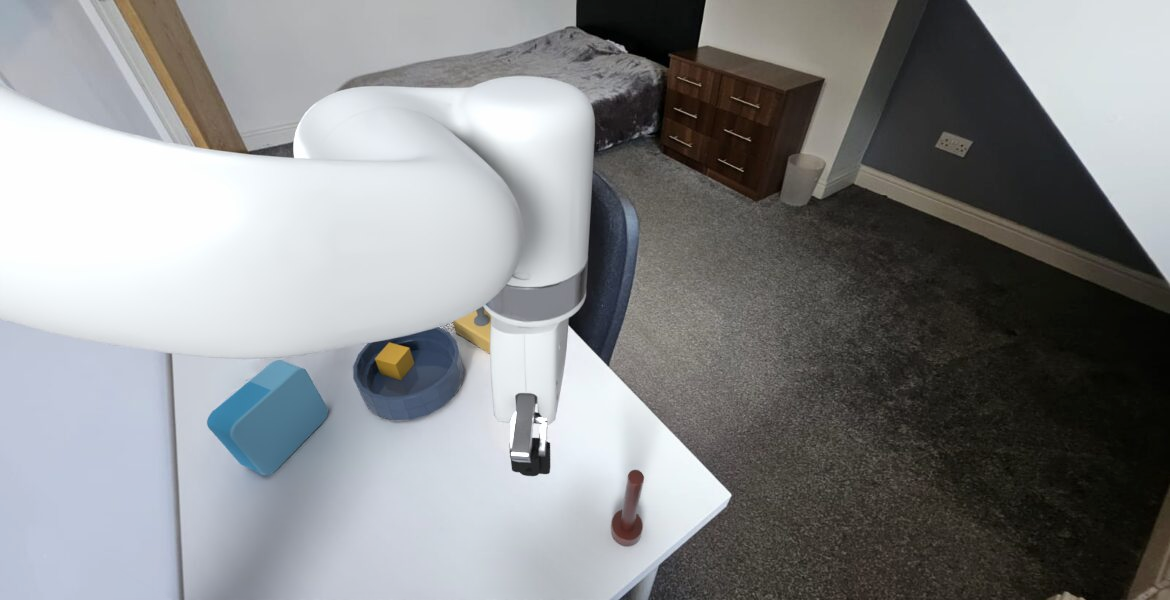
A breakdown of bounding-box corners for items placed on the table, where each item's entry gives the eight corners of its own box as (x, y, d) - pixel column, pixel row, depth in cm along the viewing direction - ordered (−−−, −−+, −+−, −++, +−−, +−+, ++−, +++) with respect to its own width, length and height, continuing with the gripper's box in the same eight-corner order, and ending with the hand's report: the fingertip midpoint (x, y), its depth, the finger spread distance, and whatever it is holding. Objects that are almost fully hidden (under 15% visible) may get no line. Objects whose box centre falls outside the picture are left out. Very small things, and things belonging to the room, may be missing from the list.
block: (401, 380, 79) (395, 364, 76) (380, 374, 80) (374, 358, 77) (414, 363, 82) (409, 347, 79) (394, 357, 82) (389, 342, 80)
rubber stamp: (513, 338, 88) (508, 288, 80) (491, 356, 84) (484, 306, 76) (476, 315, 92) (468, 266, 84) (454, 332, 89) (443, 282, 81)
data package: (309, 405, 76) (279, 354, 68) (331, 414, 74) (303, 363, 66) (243, 469, 67) (200, 419, 59) (267, 480, 66) (226, 431, 58)
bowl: (410, 441, 71) (401, 417, 67) (342, 393, 77) (330, 369, 74) (483, 372, 81) (479, 348, 78) (418, 335, 88) (411, 311, 84)
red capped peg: (629, 553, 60) (640, 501, 50) (604, 532, 62) (611, 478, 52) (647, 529, 62) (660, 475, 53) (623, 509, 64) (632, 454, 55)
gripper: (502, 209, 39) (513, 351, 50) (444, 365, 26) (477, 511, 37) (591, 215, 39) (583, 356, 50) (579, 374, 26) (572, 517, 37)
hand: (538, 421), depth 44 cm, fingers open, 9 cm apart
